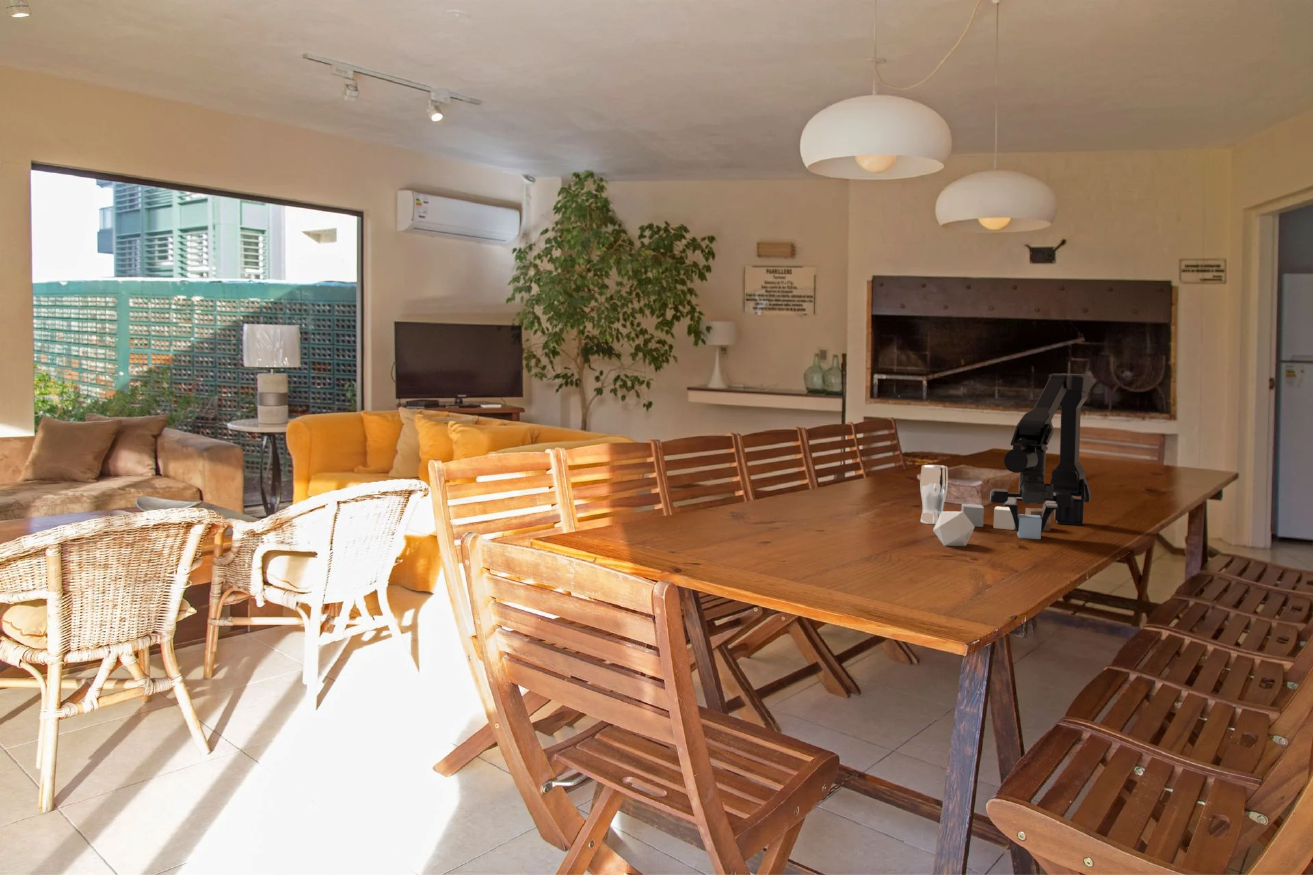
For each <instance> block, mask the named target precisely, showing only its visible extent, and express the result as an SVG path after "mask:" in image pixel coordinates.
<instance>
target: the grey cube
mask: <svg viewBox="0 0 1313 875" xmlns="http://www.w3.org/2000/svg"><path fill="white" fill-rule="evenodd" d="M961 511H963V512H964V513H965V515H966V516H967V517H968V519H969V520H970V521H971V523H972V524H973V525H974V527H981V528H982V527H984V516H985V513H984V512H985V507H984V506H983V505H982V504H968V503H962V504H961Z"/></svg>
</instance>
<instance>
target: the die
mask: <svg viewBox="0 0 1313 875" xmlns="http://www.w3.org/2000/svg"><path fill="white" fill-rule="evenodd" d="M974 530H975V526H974V525H973V524H972V523H971V521H970V520H969V519H968V517H967V516H966V515H965V513H964V512H963V511H962V510H960V511H954V510H953V511H948V510H945V511H944V510H943V511H942V512H941V514H940V516H939V518H938V520H937V523H936V525H934V527H933V529H932V531H933V533H934V534H935V535H936V536H937V538H938V540H939V541H940V542H941V543H942V545H943V547H967V545H968V542H969V540H970V538H971V536H972V534H973V531H974Z"/></svg>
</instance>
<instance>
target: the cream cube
mask: <svg viewBox="0 0 1313 875" xmlns="http://www.w3.org/2000/svg"><path fill="white" fill-rule="evenodd" d="M993 529H1000V530H1001V529H1002V530H1011V531H1012V530H1013V531H1014V530H1016V528H1015V524H1014V520H1013V517H1012V513H1011V511H1010V509H1009V507H1006V506H998V505H997V506H995V507H994V510H993Z"/></svg>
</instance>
